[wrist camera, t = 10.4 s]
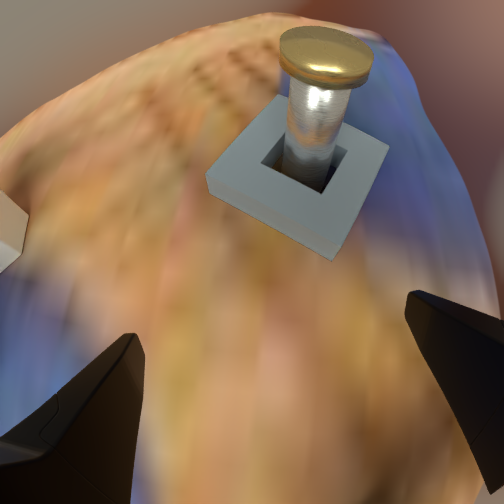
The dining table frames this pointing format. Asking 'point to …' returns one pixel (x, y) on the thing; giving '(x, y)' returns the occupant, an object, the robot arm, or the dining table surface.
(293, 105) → the pin
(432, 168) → the dining table surface
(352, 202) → the socket block
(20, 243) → the jar
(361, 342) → the dining table surface
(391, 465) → the dining table surface
